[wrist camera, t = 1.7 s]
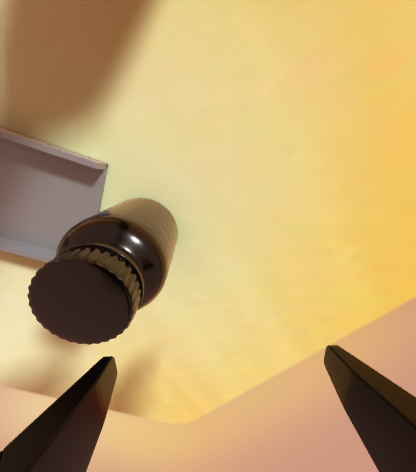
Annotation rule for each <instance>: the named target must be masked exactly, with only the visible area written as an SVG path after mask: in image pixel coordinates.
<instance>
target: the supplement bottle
mask: <svg viewBox="0 0 416 472" xmlns="http://www.w3.org/2000/svg"><path fill="white" fill-rule="evenodd" d="M177 236H178V231H177V225H176V222H175V220H174V218H173V216H172V214H171V213H170V212H169V211H168V210H167V209H166V208H165V207H164V206H163V205H161V204H160V203H158V202H156V201H154V200H150V199H146V198H135V199H130V200H127V201H124V202H122V203H120V204H117V205H115V206H113V207H111V208H109V209H106V210H104V211H102V212H100V213H97V214H95V215H93V216H91V217H89V218H86V219H84V220H82V221H81V222H79V223H77V224H76V225H74V226H73V227H71V228H70V229H69V230H68V231H67V232H66V234H65V235H64V236H63V237H62V239H61V241H60V243H59V245H58V248H57V251H56V255H55V258H54V259H53V260H51V261H50V262H48V263H47V264H45V265H44V267H42V268H41V269H39V270H38V271H37V273H36V276H34V277H33V278H32V279H31V285H30V286H29V287H28V289H29V294H28V298H29V306H30V307H31V308H32V313H33V314H34V315H35V316H36V319H37V321H38V322H40V323H41V324H42V326H43V327H44V328H45V329H47V330H49V331H50V332H51V333H52V334H54V335H57V336H58V337H59V338H61V339H66V340H68V341H69V342H76V343H78V344H89V345H90V344H93V343H95V344H99V343H101V342H107V341H109V340H110V339H113V338H116V337H117V335H119V334H122V333H123V331H124V330H125V329H126V328H128V326H129V325H130V323H131V321H132V319H133V318H134V316H135V313H136V311H137V310H139V309H141V308H143V307H145V306H146V305H148V304H149V303H151V302H152V301H153V300H154V299H155V298H156V297H157V296H158V294H159V293H160V291H161V290H162V288H163V286H164V283H165V281H166V278H167V275H168V271H169V267H170V264H171V260H172V257H173V253H174V250H175V246H176V242H177Z"/></svg>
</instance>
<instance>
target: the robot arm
mask: <svg viewBox="0 0 416 472" xmlns="http://www.w3.org/2000/svg"><path fill="white" fill-rule="evenodd" d="M324 364H325V367H326V370H327V372H328V374H329V376H330V378H331V381H332V383H333V385H334V387H335V390H336V392H337V394H338V396H339V398H340V401H341V403H342V405H343V407H344V409H345V411H346V413H347V415H348V416H349V418H350V420H351V422H352V424H353V425H354V427H355V429H356V431H357V433H358V434H359V436H360V438H361V440H362V441H363V443H364V445H365V447H366V449H367V451H368V453H369V454H370V456H371V458H372V460H373V462H374V463H375V465H376V467H377V469H378V470H379V472H416V397H414V396H413V395H411V394H410V393H408V392H407V391H405V390H404V389H402V388H401V387H399V386H398V385H396V384H395V383H393V382H392V381H390V380H389V379H387V378H386V377H384V376H383V375H381V374H380V373H378V372H377V371H375V370H374V369H372V368H371V367H369V366H368V365H366V364H365V363H363V362H362V361H360V360H359V359H357V358H356V357H354V356H353V355H351V354H350V353H348V352H347V351H345V350H344V349H342V348H341V347H339V346H338V345H328V346H327V347H326V351H325V356H324ZM116 378H117V368H116V363H115V359H114V357H112V356H110V357H103V358H102V359H100V360H99V361H98V362H97V363H96V364H95V365H94V366H93V367H92V368H91V369H90V370H88V371H87V372H86V373H85V374H84V375H83V376H82V377H81V378H80V379H79V380H78V381H77V382H75V383H74V384H73V385H72V386H71V387H70V388H69V389H68V390H67V391H66V392H65V393H64V394H62V395H61V396H60V397H59V398H58V399H57V400H56V401H55V402H54V403H53V404H52V405H51V406H49V407H48V408H47V409H46V410H45V411H44V412H43V413H42V414H41V415H40V416H39V417H38V418H37V419H35V420H34V422H32V423H31V424H30V425H29V426H28V427H27V428H26V429H25V430H23V432H22V433H20V434H19V435H18V436H17V437H16V438H15V439H14V440H13V441H12V442H10V443H9V444H8V445H7V446H6V447H5V448H4V450H3V451H1V452H0V472H86V470H87V468H88V465H89V462H90V460H91V457H92V454H93V451H94V449H95V446H96V443H97V440H98V438H99V435H100V433H101V430H102V427H103V424H104V421H105V418H106V414H107V411H108V407H109V403H110V400H111V396H112V392H113V389H114V385H115V382H116Z"/></svg>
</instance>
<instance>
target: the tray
mask: <svg viewBox="0 0 416 472" xmlns="http://www.w3.org/2000/svg"><path fill="white" fill-rule="evenodd" d="M107 168H108V164H107V163H104V162H101V161H98V160H95V159H92V158H89V157H86V156H84V155H81V154H78V153H75V152H72V151H69V150H66V149H63V148H60V147H57V146H54V145H51V144H48V143H45V142H42V141H39V140H36V139H33V138H30V137H27V136H24V135H21V134H18V133H15V132H12V131H9V130H6V129H3V128H0V251H4V252H8V253H12V254H16V255H19V256H23V257H27V258H31V259H34V260H38V261H42V262H46V263H48V262H50V261H51V260H53V259H54V258H55V255H56V251H57V248H58V245H59V243H60V241H61V239H62V237H63V236H64V235H65V234H66V232H67V231H68V230H69V229H70V228H71V227H73V226H74V225H76V224H77V223H79V222H81V221H82V220H84V219H86V218H89V217H91V216H93V215H95V214H97V213H99V212H100V206H101V201H102V195H103V190H104V184H105V179H106V173H107Z"/></svg>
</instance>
